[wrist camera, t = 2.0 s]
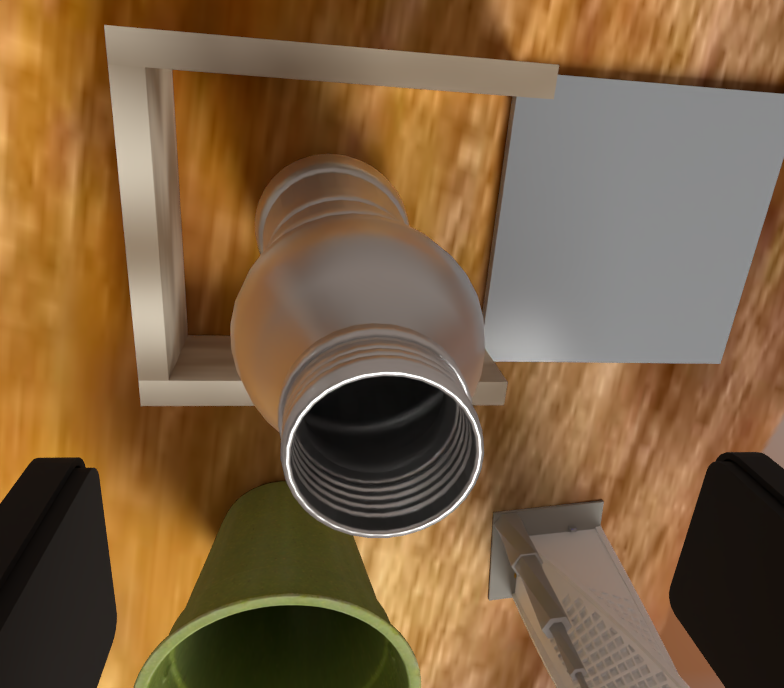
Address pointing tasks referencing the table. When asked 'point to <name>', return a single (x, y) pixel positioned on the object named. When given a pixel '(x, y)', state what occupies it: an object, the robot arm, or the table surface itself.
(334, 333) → the plastic bottle
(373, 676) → the plant pot
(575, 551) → the skyscraper
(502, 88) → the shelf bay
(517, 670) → the table surface
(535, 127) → the tile
